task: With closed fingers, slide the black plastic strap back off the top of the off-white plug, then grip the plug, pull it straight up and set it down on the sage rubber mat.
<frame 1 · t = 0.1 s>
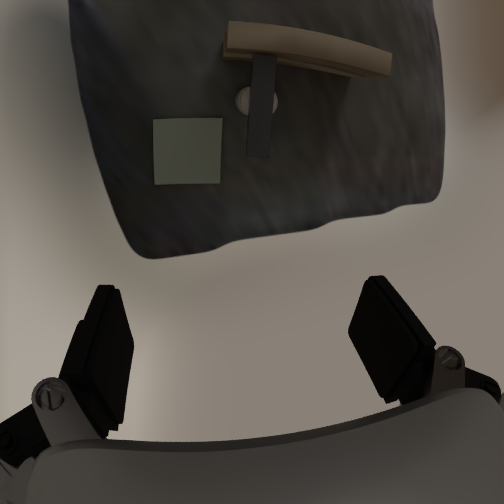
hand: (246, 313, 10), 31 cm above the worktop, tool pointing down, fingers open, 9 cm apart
mat: (187, 150, 36), on the worktop
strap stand: (291, 56, 31), on the worktop
strap: (260, 105, 27), point 8 cm above the worktop, slide at 0.0 cm
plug: (250, 100, 34), on the worktop
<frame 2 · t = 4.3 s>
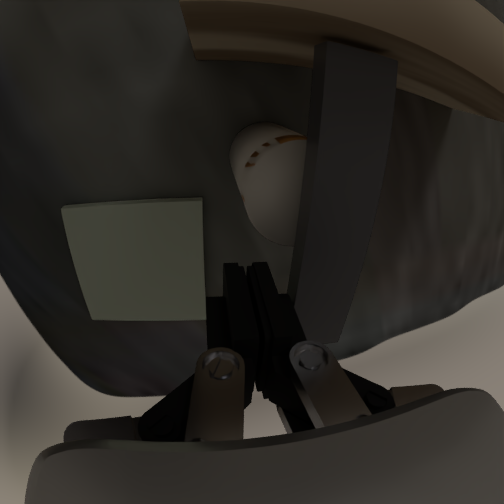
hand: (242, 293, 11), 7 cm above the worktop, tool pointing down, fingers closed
mat: (137, 264, 18), on the worktop
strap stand: (354, 54, 13), on the worktop
strap: (336, 218, 9), point 8 cm above the worktop, slide at 1.0 cm, touching gripper
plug: (264, 156, 16), on the worktop
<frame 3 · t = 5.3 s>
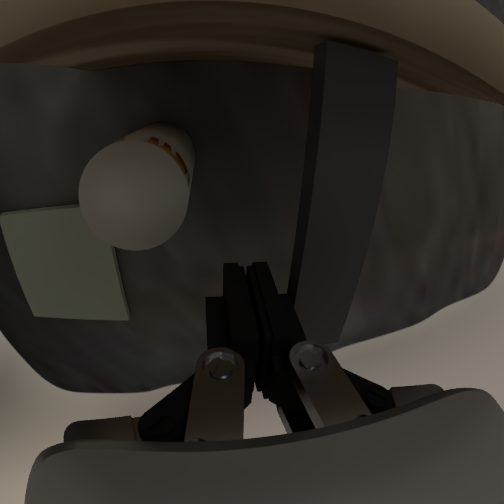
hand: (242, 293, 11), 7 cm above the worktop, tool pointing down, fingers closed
mat: (62, 266, 17), on the worktop
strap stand: (256, 37, 12), on the worktop
strap: (336, 218, 9), point 8 cm above the worktop, slide at 6.9 cm, touching gripper
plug: (160, 157, 15), on the worktop
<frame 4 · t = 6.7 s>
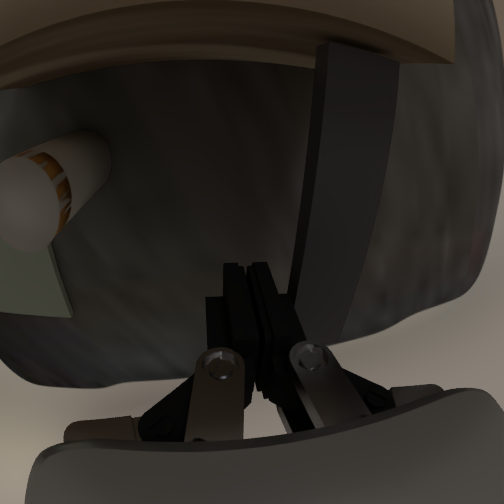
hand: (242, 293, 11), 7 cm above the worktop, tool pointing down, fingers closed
mat: (14, 265, 16), on the worktop
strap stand: (164, 36, 11), on the worktop
strap: (337, 219, 9), point 8 cm above the worktop, slide at 11.8 cm, touching gripper
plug: (81, 162, 14), on the worktop
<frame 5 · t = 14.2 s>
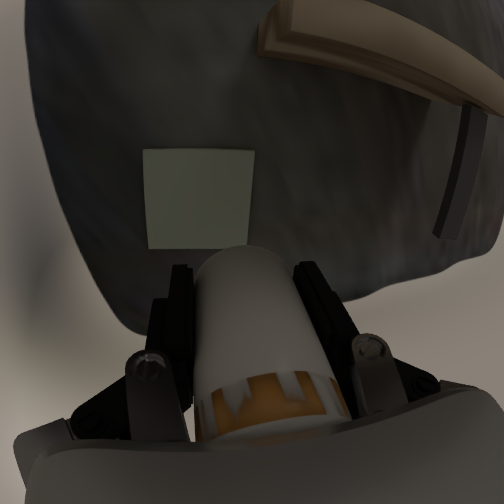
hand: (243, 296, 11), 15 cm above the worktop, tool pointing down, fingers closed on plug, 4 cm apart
mat: (197, 199, 24), on the worktop
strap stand: (360, 60, 19), on the worktop
strap: (463, 174, 17), point 8 cm above the worktop, slide at 11.9 cm
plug: (242, 288, 12), point 14 cm above the worktop, touching gripper
when the fingers open (3 cm above the worktop, at t = 16.9 s): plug drops 1 cm, resting on mat.
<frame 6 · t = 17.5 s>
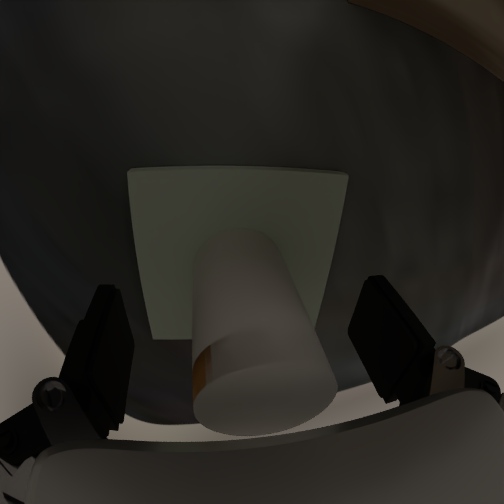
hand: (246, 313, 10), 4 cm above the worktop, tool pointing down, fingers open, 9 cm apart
mat: (236, 261, 14), on the worktop
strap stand: (479, 43, 9), on the worktop
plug: (238, 268, 13), point 1 cm above the worktop, touching mat
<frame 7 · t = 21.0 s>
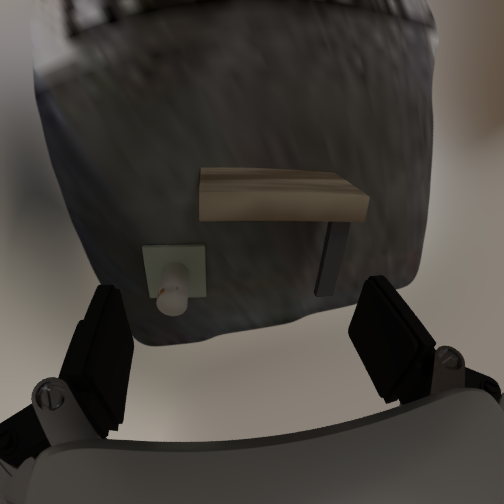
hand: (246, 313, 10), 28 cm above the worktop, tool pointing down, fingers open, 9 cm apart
mat: (175, 271, 42), on the worktop
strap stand: (270, 179, 37), on the worktop
strap: (331, 258, 35), point 8 cm above the worktop, slide at 11.9 cm
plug: (175, 273, 42), point 1 cm above the worktop, touching mat
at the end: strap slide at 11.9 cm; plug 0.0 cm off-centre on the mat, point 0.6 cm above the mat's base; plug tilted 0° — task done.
